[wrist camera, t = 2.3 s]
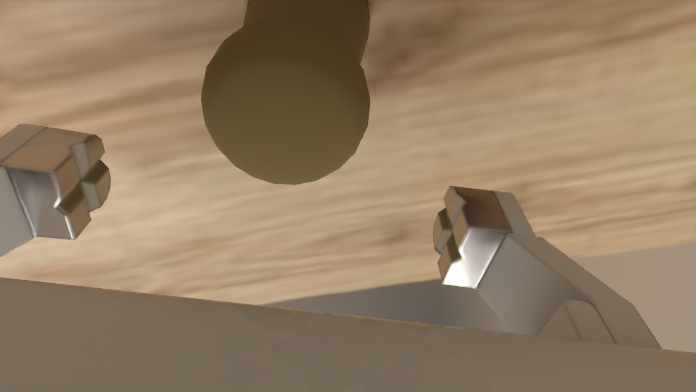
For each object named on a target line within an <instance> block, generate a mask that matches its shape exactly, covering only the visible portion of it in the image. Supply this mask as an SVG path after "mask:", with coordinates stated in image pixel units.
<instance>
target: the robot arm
mask: <svg viewBox="0 0 696 392" xmlns="http://www.w3.org/2000/svg"><path fill="white" fill-rule="evenodd" d="M104 153H105V150H104V146H103V143H102V139H101V138H99V137H98V136H97V135H94V134H88V133H82V132H76V131H69V130H63V129H57V128H49V127H45V126H38V125H30V124H21V125H18V126H17V127H15V128H14V129H12V130H11V131H10V132H8V133H7V134H6V135H4V136H3V137H2V138H0V257H1V256H3V255H5V254H7V253H8V252H10V251H12V250H14V249H15V248H17V247H19V246H21V245H22V244H24V243H26V242H28V241H30V240H31V239H33V238H34V237H33V236H37V237H47V238H58V239H69V240H76V239H77V237H78V236H79V235H80V234H81V232H82V231H83V230H84V228H85V227H86V226H87V224H88V223H89V222H90V221H91V218H90V214H89V212H91V211H93V210H95V209H98V208H100V207H101V206H102V205H103V203H104V202H105V201H106V199H107V197H108V193H109V190H110V181H111V177H110V172H109V168H108V167H107V166H106V165H105V164H104V163H103V162H102V161H101V160H100V158H101V157H102V156H103V154H104ZM444 202H445V206H446V208H445V209H443V210H442V211H440V212H439V213H438V215H437V218H436V221H435V223H434V230H433V243H434V248H435V250H436V251H437V252H438V253H439V254H440V255H441V256H440V259H439V261H438V266H439V270H440V274H441V279H442V283H443V284H448V285H455V286H462V287H470V288H476V289H477V291H478V292H479V294H480V295H481V296H482V297H483V299H485V301H486V302H487V303H488V304H489V306H490V307H491V308H492V309H493V310H494V312H495V313H496V314H497V315H498V316H499V318H500V319H501V320H502V321H503V322H504V323H505V325H506V326H507V327H508V328H509V329H510V331H511V332H512V333H509V332H499V331H490V330H481V329H471V328H461V327H452V326H443V325H433V324H424V323H415V322H405V321H397V320H388V319H378V318H370V317H361V316H352V315H343V314H334V313H325V312H315V311H306V310H296V309H288V308H278V307H270V306H260V305H251V304H242V303H232V302H223V301H214V300H204V299H195V298H186V297H176V296H167V295H158V294H148V293H139V292H130V291H121V290H112V289H102V288H93V287H84V286H75V285H65V284H56V283H47V282H38V281H29V280H19V279H10V278H1V277H0V392H696V353H693V352H684V351H674V350H666V349H662V348H661V346H660V345H659V343H658V342H657V340H656V338H655V337H654V335H653V334H652V332H651V331H650V329H649V328H648V326H647V325H646V323H645V322H644V320H643V319H642V317H641V316H640V314H639V313H638V311H637V310H636V308H635V307H634V306H633V305H632V304H631V303H629V302H628V301H627V300H626V299H624V298H623V297H621V296H620V295H619V294H617V293H616V292H615V291H613V290H612V289H611V288H609V287H608V286H607V285H605V284H604V283H603V282H601V281H600V280H599V279H597V278H596V277H595V276H593V275H592V274H591V273H589V272H588V271H586V270H585V269H584V268H582V267H581V266H580V265H578V264H577V263H576V262H574V261H573V260H572V259H570V258H569V257H568V256H566V255H565V254H564V253H562V252H561V251H559V250H558V249H557V248H555V247H554V246H553V245H551V244H550V243H549V242H547V241H546V240H545V239H543V238H541V237H536V236H535V234H534V232H533V230H532V228H531V226H530V225H529V223H528V221H527V219H526V217H525V215H524V213H523V211H522V209H521V207H520V205H519V203H518V201H517V200H516V198H515V196H514V195H513V194H512V193H510V192H501V191H489V190H480V189H472V188H464V187H456V186H450V187H449V189H448V190H447V192H446V194H445V197H444Z"/></svg>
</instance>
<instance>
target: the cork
mask: <svg viewBox="0 0 696 392" xmlns="http://www.w3.org/2000/svg"><path fill="white" fill-rule="evenodd" d="M369 21H370V16H369V11H368V6H367V1H366V0H249V3H248V7H247V12H246V17H245V21H244V26H243V27H242V28H241V29H239V30H238V31H236V32H235V33H234V34H232V35H231V36H229V37H228V38H227V39H225V41H224V42H223V43H222V44H221V46H220V47H219V49H218V50H217V52H216V53H215V55H214V56H213V58H212V60H211V61H210V63H209V64H208V66H207V68H206V73H205V78H204V83H203V88H202V96H201V102H202V108H203V114H204V121H205V125H206V127H207V129H208V131H209V133H210V134H211V136H212V138H213V140H214V142H215V144H216V146H217V147H218V148H219V150H220V151H221V152H222V153H223V154H224V155H225V156H226V157H227V158H228V159H229V160H230V161H231V162H232V163H233V164H234V165H235V166H236V167H238V168H239V169H241V170H243V171H244V172H246V173H248V174H249V175H251V176H253V177H255V178H258V179H261V180H264V181H268V182H271V183H274V184H291V185H297V184H302V183H306V182H311V181H316V180H318V179H320V178H322V177H324V176H326V175H328V174H330V173H332V172H334V171H335V170H337V169H339V168H340V167H341V166H342V165H343V164H344V163H345V162H346V161H347V160H348V159H349V158H350V157H351V156H352V155H353V154H354V153H355V151H356V149H357V147H358V145H359V143H360V141H361V139H362V137H363V135H364V133H365V131H366V128H367V126H368V118H369V109H370V97H369V92H368V87H367V83H366V79H365V75H364V70H363V69H362V67H361V65H360V62H361V59H362V56H363V52H364V49H365V45H366V42H367V39H368V32H369Z"/></svg>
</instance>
